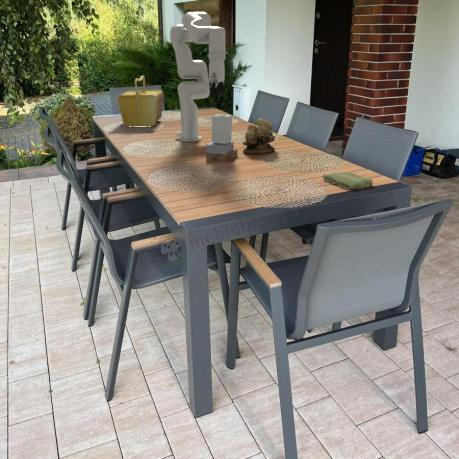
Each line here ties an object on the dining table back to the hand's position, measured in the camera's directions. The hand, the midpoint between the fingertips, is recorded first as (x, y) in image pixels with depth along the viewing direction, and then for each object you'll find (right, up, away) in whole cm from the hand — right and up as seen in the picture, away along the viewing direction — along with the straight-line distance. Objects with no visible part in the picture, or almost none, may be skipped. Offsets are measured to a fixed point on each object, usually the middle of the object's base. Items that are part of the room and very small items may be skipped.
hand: (217, 94), depth 224 cm
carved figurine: (+21, -25, +16) cm, 36 cm away
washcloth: (+53, -46, -34) cm, 77 cm away
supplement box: (+2, -22, +2) cm, 22 cm away
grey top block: (+1, -26, +3) cm, 26 cm away
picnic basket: (-52, +6, +92) cm, 106 cm away
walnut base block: (+2, -30, +6) cm, 30 cm away
